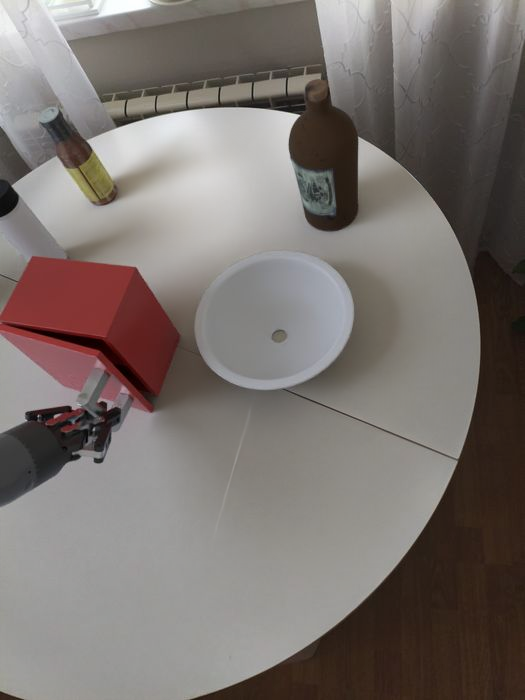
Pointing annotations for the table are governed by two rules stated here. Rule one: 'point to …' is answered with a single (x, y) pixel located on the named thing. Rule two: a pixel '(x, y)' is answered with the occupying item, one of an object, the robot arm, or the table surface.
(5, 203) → the travel mug
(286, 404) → the table surface
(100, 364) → the red cabinet door
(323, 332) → the white sink basin
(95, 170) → the sauce bottle
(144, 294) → the cabinet
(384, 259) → the table surface
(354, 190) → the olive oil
